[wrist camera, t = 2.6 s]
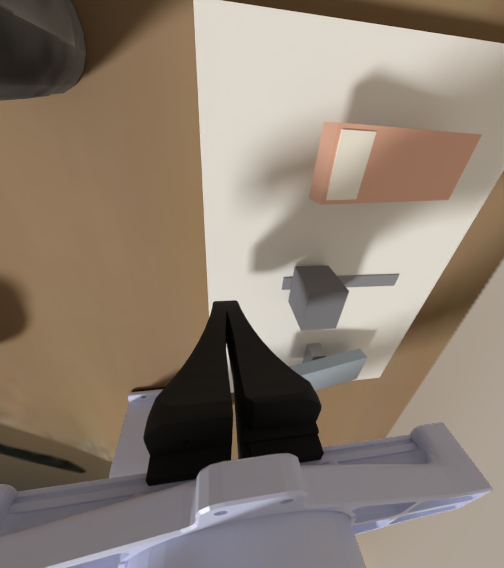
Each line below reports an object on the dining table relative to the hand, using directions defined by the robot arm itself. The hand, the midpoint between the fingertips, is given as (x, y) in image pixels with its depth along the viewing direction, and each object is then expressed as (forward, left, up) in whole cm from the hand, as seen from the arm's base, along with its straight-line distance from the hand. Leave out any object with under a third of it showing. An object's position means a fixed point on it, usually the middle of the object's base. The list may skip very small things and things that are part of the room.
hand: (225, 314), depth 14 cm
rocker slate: (+8, -8, -1) cm, 11 cm away
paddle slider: (+6, 0, -3) cm, 7 cm away
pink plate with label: (+8, +8, -1) cm, 11 cm away
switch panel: (+8, 0, -5) cm, 9 cm away
